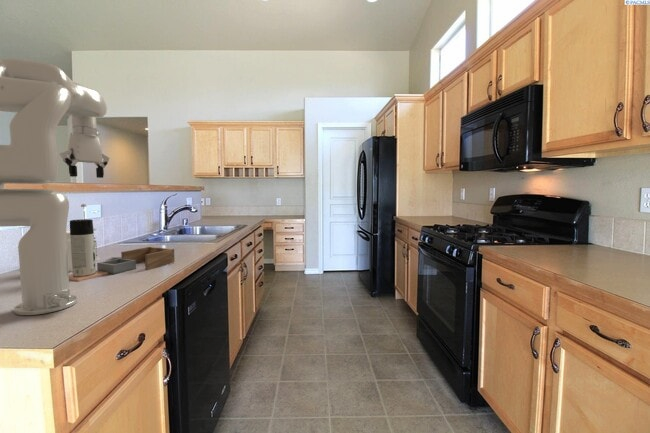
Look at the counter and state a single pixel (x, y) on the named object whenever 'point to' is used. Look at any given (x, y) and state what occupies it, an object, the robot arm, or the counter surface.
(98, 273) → the pad
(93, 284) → the counter surface
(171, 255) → the cubby
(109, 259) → the crook
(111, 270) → the bin
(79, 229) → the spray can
